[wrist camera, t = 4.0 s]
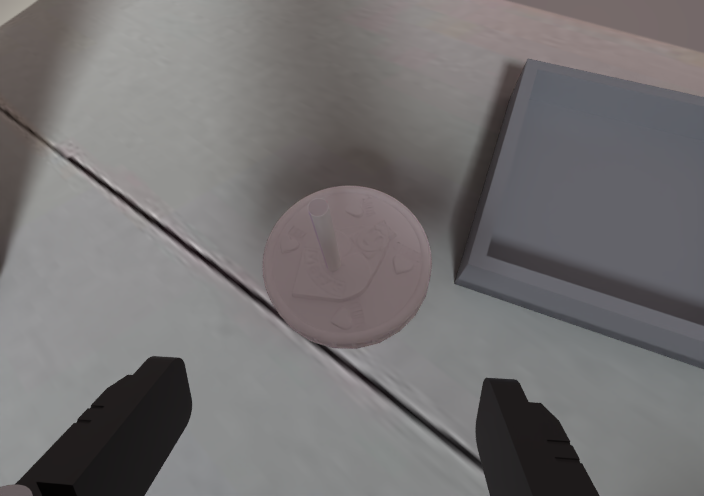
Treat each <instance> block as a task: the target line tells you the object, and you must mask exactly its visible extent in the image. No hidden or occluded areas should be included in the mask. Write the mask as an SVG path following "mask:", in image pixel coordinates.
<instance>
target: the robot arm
mask: <svg viewBox="0 0 704 496" xmlns="http://www.w3.org/2000/svg"><path fill="white" fill-rule="evenodd" d="M191 411H192V398H191V393H190V388H189V383H188V378H187V373H186V368H185V364H184V361H183V360H182V359H181V358H174V357H158V356H152V357H150V358H148V359H147V360H146V361H145V362H144V363H143V364H142V366H141V367H140V368H139V369H138V370H137V371H136V372H135V373H134V374H133V375H127V376H125V377H124V378H122V379H121V380H119V381H118V382H116V383H115V384H113V385H112V386H110V387H108V388H107V389H106V390H105V391H104V392H103V393H102V394H101V395H100V396H99V397H98V398H97V399H96V401H95V402H94V403H93V404H92V405H91V408H90V409H87V410H86V411H85V412H84V413H83V414H82V415H81V416H80V417H79V418H78V421H77V423H74V424H73V425H72V426H71V427H70V428H69V429H68V430H67V431H66V432H65V433H64V434H63V435H62V436H61V437H60V438H59V439H58V440H57V441H56V442H55V443H54V444H53V445H52V447H51V448H50V449H49V450H48V451H47V452H46V453H45V454H44V455H43V456H42V457H41V458H40V459H39V460H38V461H37V462H36V463H35V464H34V465H33V466H32V467H31V468H30V470H29V471H28V472H27V473H26V474H25V475H24V476H23V477H22V478H21V479H20V480H19V481H18V482H17V483H16V484H15V485H7V486H2V487H0V496H145V494H146V492H147V491H148V489H149V487H150V486H151V484H152V482H153V481H154V479H155V477H156V476H157V474H158V472H159V471H160V469H161V467H162V466H163V464H164V462H165V461H166V459H167V457H168V456H169V454H170V452H171V451H172V449H173V448H174V446H175V444H176V443H177V441H178V439H179V438H180V436H181V434H182V433H183V431H184V429H185V428H186V426H187V424H188V422H189V419H190V416H191ZM476 442H477V448H478V452H479V456H480V459H481V463H482V467H483V471H484V475H485V478H486V482H487V486H488V490H489V493H490V496H599V494H598V492H597V490H596V488H595V487H594V485H593V483H592V481H591V479H590V477H589V475H588V474H587V472H586V470H585V468H584V466H583V464H582V463H580V461H579V457H578V455H577V453H576V451H575V450H574V448H573V446H572V445H570V440H569V439H568V437H567V435H566V433H565V431H564V429H563V427H562V426H561V424H560V422H559V420H558V419H557V418H556V417H555V416H553V415H552V414H551V413H550V412H549V411H548V410H547V409H546V408H545V407H544V406H543V405H542V404H541V403H532V402H528V400H527V398H526V396H525V394H524V391H523V389H522V387H521V385H520V383H519V382H518V381H517V380H514V379H498V378H485V379H484V382H483V386H482V391H481V397H480V403H479V408H478V414H477V419H476Z"/></svg>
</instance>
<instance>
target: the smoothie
mask: <svg viewBox="0 0 704 496" xmlns="http://www.w3.org/2000/svg"><path fill="white" fill-rule="evenodd" d="M431 267H432V259H431V250H430V245H429V242H428V238H427V236H426V233H425V231H424V229H423V227H422V225H421V224H420V222H419V221H418V219H417V218H416V217H415V215H414V214H413V213H412V212H411V211H410V210H409V209H408V208H407V207H406V206H405V205H403V204H402V203H401V202H400V201H398V200H397V199H395V198H394V197H392V196H390V195H388V194H386V193H383V192H381V191H378V190H375V189H372V188H368V187H362V186H336V187H331V188H326V189H323V190H320V191H317V192H314V193H312V194H310V195H308V196H306V197H304V198H303V199H301V200H299V201H298V202H297V203H295V204H294V205H293V206H292V207H290V208H289V209H288V210H287V211H286V212H285V213H284V214H283V215H282V217H281V218H280V219H279V220H278V222H277V223H276V225H275V226H274V228H273V230H272V231H271V233H270V235H269V238H268V240H267V243H266V246H265V251H264V256H263V278H264V283H265V287H266V290H267V293H268V295H269V297H270V300H271V302H272V303H273V305H274V307H275V308H276V310H277V311H278V313H279V315H280V316H281V317H282V318H283V319H284V320H285V321H286V322H287V324H288V325H289V326H290V327H291V328H292V329H293V330H294V331H296V332H297V333H299V334H300V335H302V336H304V337H305V338H307V339H308V340H310V341H311V342H315V343H318V344H321V345H325V346H328V347H331V348H350V349H357V348H361V347H365V346H369V345H373V344H377V343H380V342H382V341H384V340H385V339H387V338H389V337H391V336H392V335H394V334H396V333H398V332H399V331H400V330H401V329H402V328H403V327H404V326H405V325H406V324H407V323H408V322H409V321H410V320H411V319H412V318H413V317H414V316H415V315H416V313H417V312H418V310H419V308H420V306H421V304H422V302H423V301H424V299H425V297H426V293H427V289H428V285H429V280H430V276H431Z"/></svg>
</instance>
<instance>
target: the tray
mask: <svg viewBox="0 0 704 496" xmlns="http://www.w3.org/2000/svg"><path fill="white" fill-rule="evenodd" d="M455 284H457V285H460V286H463V287H466V288H469V289H472V290H475V291H477V292H480V293H483V294H486V295H489V296H492V297H495V298H498V299H501V300H504V301H507V302H510V303H512V304H515V305H518V306H521V307H524V308H527V309H530V310H533V311H536V312H539V313H542V314H545V315H547V316H550V317H553V318H556V319H559V320H562V321H565V322H568V323H571V324H574V325H577V326H579V327H582V328H585V329H588V330H591V331H594V332H597V333H600V334H603V335H606V336H609V337H612V338H614V339H617V340H620V341H623V342H626V343H629V344H632V345H635V346H638V347H641V348H644V349H647V350H649V351H652V352H655V353H658V354H661V355H664V356H667V357H670V358H673V359H676V360H679V361H682V362H684V363H687V364H690V365H693V366H696V367H699V368H702V369H704V97H700V96H696V95H691V94H687V93H682V92H678V91H673V90H669V89H664V88H659V87H655V86H650V85H646V84H641V83H637V82H632V81H628V80H623V79H618V78H614V77H609V76H605V75H600V74H596V73H591V72H587V71H582V70H578V69H573V68H568V67H564V66H559V65H555V64H550V63H546V62H541V61H537V60H532V59H527V62H526V64H525V66H524V68H523V70H522V73H521V75H520V77H519V79H518V82H517V84H516V86H515V88H514V90H513V93H512V95H511V97H510V100H509V104H508V107H507V110H506V114H505V117H504V120H503V124H502V127H501V130H500V134H499V137H498V140H497V144H496V147H495V150H494V154H493V157H492V160H491V164H490V167H489V170H488V174H487V177H486V180H485V184H484V187H483V190H482V194H481V197H480V200H479V204H478V207H477V210H476V214H475V217H474V220H473V224H472V227H471V230H470V234H469V237H468V240H467V244H466V247H465V250H464V254H463V257H462V260H461V264H460V267H459V270H458V274H457V277H456V280H455Z"/></svg>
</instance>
